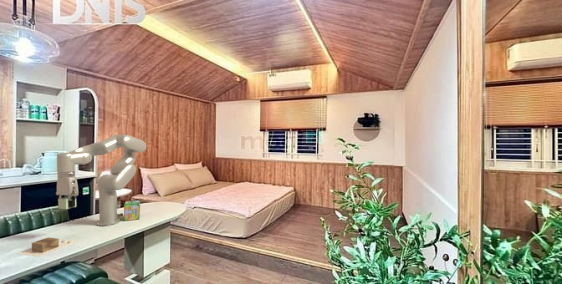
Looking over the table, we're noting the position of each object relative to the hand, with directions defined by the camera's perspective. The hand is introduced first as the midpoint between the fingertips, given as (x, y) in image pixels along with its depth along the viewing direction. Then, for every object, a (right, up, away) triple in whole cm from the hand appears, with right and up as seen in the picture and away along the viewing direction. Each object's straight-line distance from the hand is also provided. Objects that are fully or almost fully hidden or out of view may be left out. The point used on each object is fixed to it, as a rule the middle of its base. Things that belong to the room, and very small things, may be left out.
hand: (67, 206), depth 142 cm
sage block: (0, -1, 0) cm, 1 cm away
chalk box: (+18, -17, +32) cm, 40 cm away
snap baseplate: (+4, -17, -15) cm, 24 cm away
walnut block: (+4, -16, -17) cm, 24 cm away
